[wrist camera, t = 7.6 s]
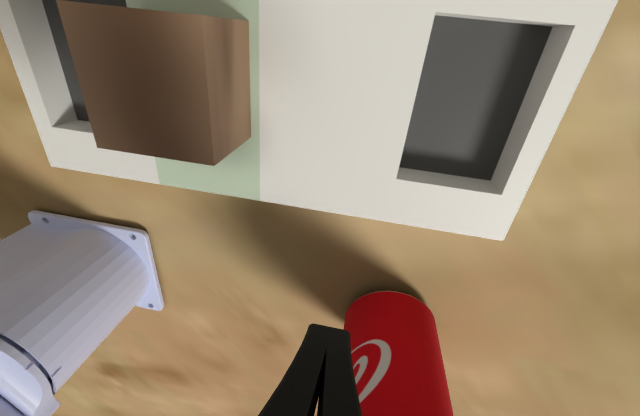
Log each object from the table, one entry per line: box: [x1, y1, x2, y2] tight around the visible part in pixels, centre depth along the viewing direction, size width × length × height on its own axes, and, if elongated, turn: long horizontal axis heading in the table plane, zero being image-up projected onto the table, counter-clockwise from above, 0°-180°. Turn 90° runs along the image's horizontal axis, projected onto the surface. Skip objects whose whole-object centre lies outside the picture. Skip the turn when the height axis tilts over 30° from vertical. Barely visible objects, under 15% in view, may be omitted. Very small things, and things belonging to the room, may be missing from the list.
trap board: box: [0, 0, 618, 241], centre depth 15 cm, size 26×12×2 cm, turn 85°
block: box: [56, 0, 251, 166], centre depth 13 cm, size 5×5×4 cm
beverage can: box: [344, 291, 453, 416], centre depth 17 cm, size 6×6×12 cm
